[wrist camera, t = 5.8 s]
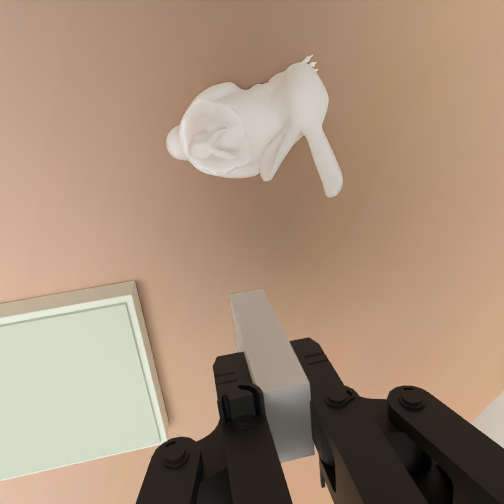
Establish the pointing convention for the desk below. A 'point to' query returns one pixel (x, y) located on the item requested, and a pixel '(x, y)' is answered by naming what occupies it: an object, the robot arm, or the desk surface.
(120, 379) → the tray
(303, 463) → the desk surface
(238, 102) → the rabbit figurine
